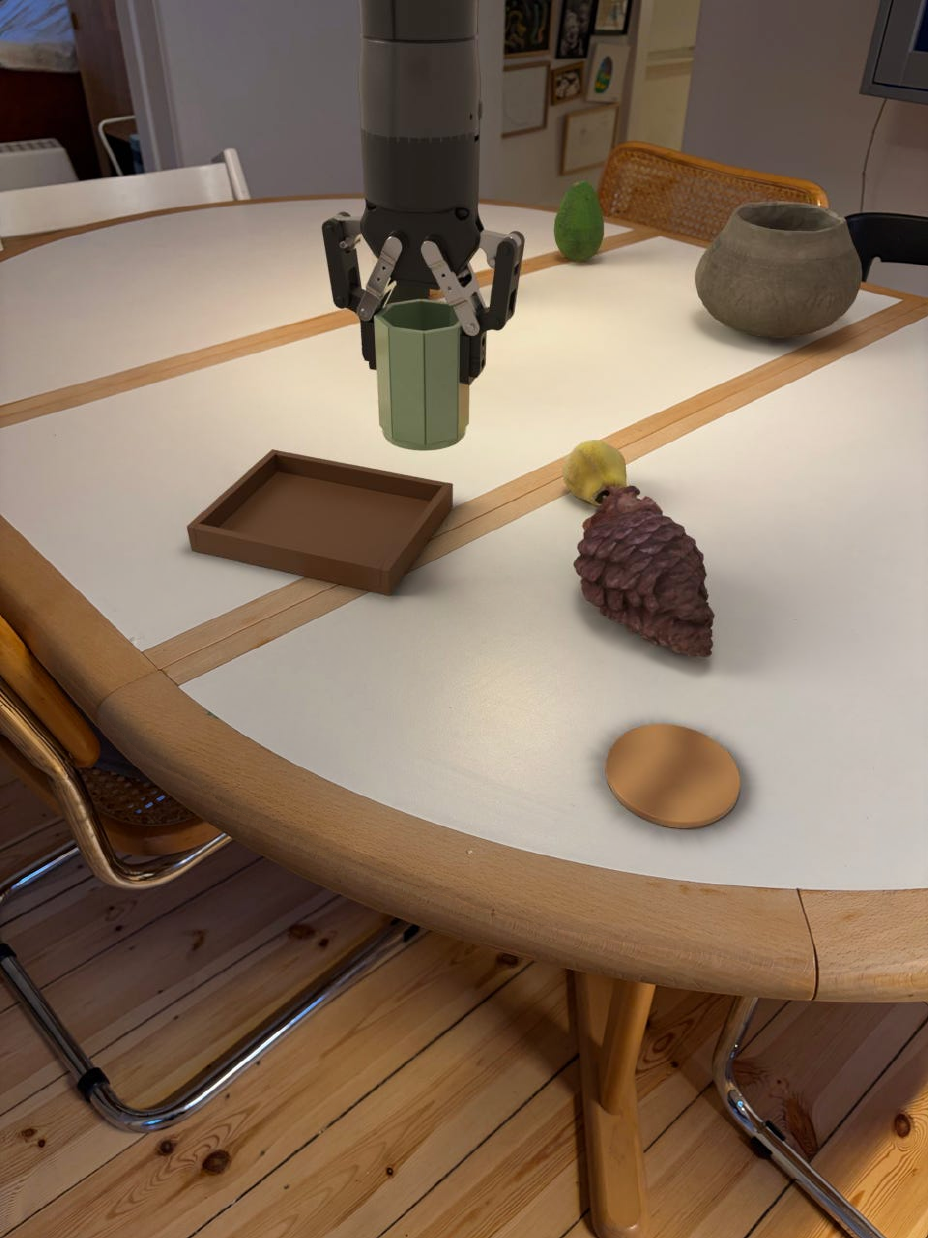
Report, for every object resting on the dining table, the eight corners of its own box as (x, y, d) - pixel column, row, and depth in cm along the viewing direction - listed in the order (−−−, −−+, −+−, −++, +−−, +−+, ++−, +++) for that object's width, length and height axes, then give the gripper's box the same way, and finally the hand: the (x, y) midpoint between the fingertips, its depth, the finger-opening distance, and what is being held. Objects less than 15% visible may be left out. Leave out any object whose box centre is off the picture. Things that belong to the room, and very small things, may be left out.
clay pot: (830, 370, 118) (863, 248, 109) (668, 339, 126) (685, 223, 117) (858, 316, 134) (888, 205, 124) (711, 291, 141) (730, 185, 132)
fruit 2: (595, 533, 88) (541, 473, 94) (641, 532, 91) (586, 474, 97) (621, 482, 84) (564, 423, 90) (668, 483, 88) (609, 426, 94)
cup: (369, 442, 70) (362, 324, 64) (400, 407, 75) (397, 295, 69) (449, 456, 68) (450, 337, 63) (476, 420, 73) (479, 305, 68)
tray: (191, 550, 85) (186, 526, 83) (275, 471, 96) (272, 448, 95) (389, 595, 80) (388, 570, 78) (453, 506, 91) (453, 483, 90)
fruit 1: (578, 250, 156) (585, 172, 149) (610, 262, 151) (619, 183, 144) (542, 258, 153) (547, 179, 145) (573, 271, 148) (580, 190, 140)
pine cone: (762, 649, 74) (750, 596, 66) (654, 712, 76) (629, 668, 67) (652, 496, 84) (629, 433, 75) (557, 555, 85) (524, 498, 76)
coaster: (591, 806, 62) (592, 800, 61) (620, 717, 68) (621, 711, 68) (730, 844, 59) (731, 838, 59) (745, 748, 66) (747, 742, 66)
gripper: (288, 121, 57) (312, 379, 68) (514, 141, 54) (502, 409, 64) (340, 101, 63) (354, 342, 73) (547, 117, 59) (531, 368, 70)
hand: (423, 372), depth 69 cm, fingers closed on cup, 6 cm apart
